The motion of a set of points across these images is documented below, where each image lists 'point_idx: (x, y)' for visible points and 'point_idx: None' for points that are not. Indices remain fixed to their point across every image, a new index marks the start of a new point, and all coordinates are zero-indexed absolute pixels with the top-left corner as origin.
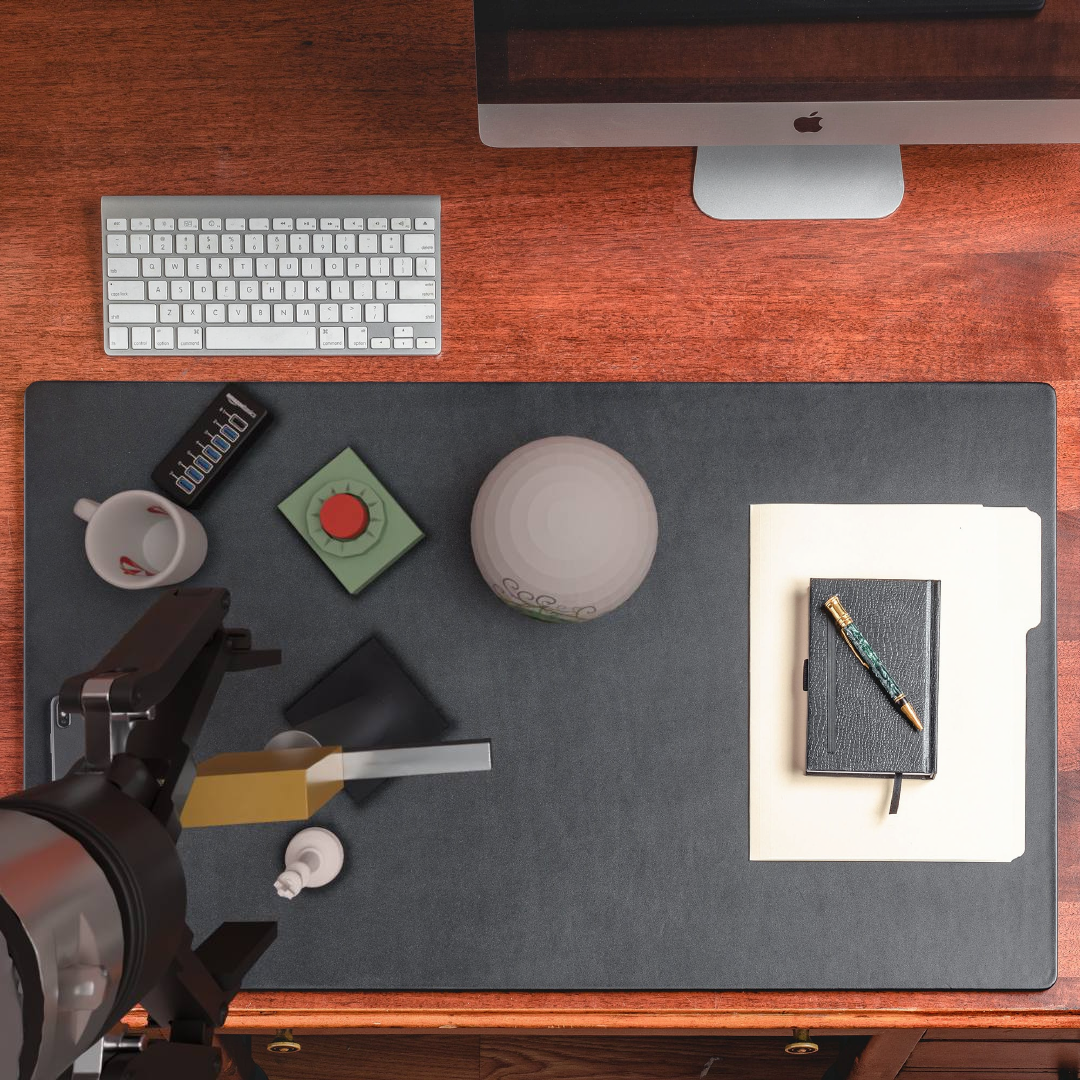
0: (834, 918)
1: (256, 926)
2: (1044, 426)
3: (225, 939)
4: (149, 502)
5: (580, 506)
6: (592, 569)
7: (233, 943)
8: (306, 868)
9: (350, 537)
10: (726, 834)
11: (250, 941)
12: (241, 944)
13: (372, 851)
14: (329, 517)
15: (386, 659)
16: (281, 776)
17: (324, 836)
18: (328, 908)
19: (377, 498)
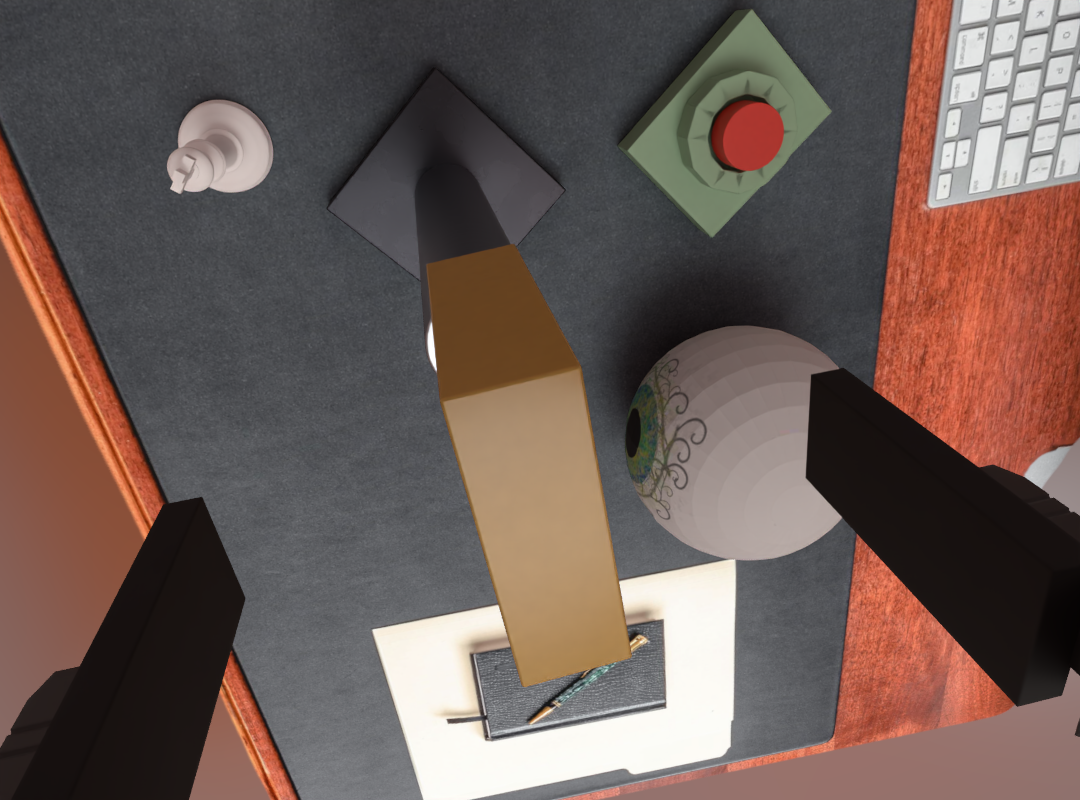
0: (333, 703)
1: (224, 591)
2: (797, 742)
3: (186, 622)
4: None
5: (812, 518)
6: (728, 535)
7: (189, 667)
8: (219, 176)
9: (716, 148)
10: (393, 606)
11: (207, 687)
12: (196, 694)
13: (260, 231)
14: (751, 118)
15: (537, 214)
16: (612, 621)
17: (263, 162)
18: (156, 180)
19: (768, 178)
